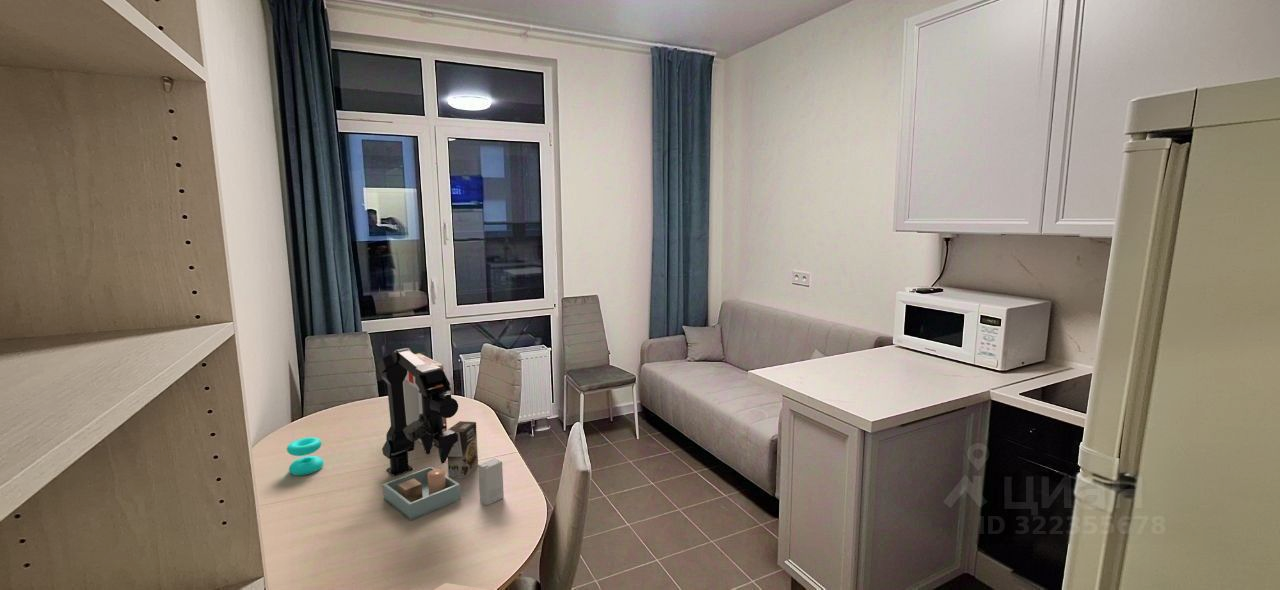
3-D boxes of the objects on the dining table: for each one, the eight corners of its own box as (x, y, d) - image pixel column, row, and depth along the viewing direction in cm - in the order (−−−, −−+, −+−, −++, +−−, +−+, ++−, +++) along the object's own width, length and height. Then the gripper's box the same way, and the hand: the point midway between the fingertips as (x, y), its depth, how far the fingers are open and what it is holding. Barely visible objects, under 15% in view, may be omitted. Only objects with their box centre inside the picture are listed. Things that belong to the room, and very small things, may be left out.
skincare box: (495, 493, 169) (494, 456, 167) (504, 498, 166) (503, 461, 164) (478, 501, 164) (476, 463, 163) (487, 506, 162) (485, 468, 160)
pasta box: (447, 440, 208) (443, 364, 204) (426, 447, 203) (421, 369, 198) (424, 423, 225) (419, 353, 220) (404, 429, 219) (399, 356, 215)
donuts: (282, 442, 183) (315, 433, 190) (285, 470, 185) (318, 460, 192) (291, 451, 176) (325, 441, 184) (294, 479, 178) (327, 469, 185)
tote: (383, 499, 166) (382, 484, 165) (432, 480, 177) (431, 466, 176) (410, 521, 154) (409, 504, 153) (460, 499, 166) (459, 484, 165)
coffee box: (465, 478, 178) (463, 432, 176) (447, 477, 180) (445, 430, 177) (479, 466, 187) (476, 421, 185) (462, 464, 189) (459, 420, 186)
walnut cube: (414, 493, 167) (413, 478, 167) (422, 499, 164) (421, 483, 163) (398, 500, 164) (397, 484, 163) (406, 505, 161) (405, 490, 160)
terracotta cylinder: (426, 494, 167) (424, 472, 166) (441, 488, 171) (440, 467, 170) (433, 500, 164) (431, 478, 163) (449, 494, 167) (447, 473, 166)
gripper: (391, 409, 163) (395, 458, 166) (421, 425, 151) (424, 477, 153) (427, 399, 171) (430, 446, 174) (458, 414, 159) (460, 464, 161)
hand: (435, 458), depth 165 cm, fingers open, 9 cm apart
